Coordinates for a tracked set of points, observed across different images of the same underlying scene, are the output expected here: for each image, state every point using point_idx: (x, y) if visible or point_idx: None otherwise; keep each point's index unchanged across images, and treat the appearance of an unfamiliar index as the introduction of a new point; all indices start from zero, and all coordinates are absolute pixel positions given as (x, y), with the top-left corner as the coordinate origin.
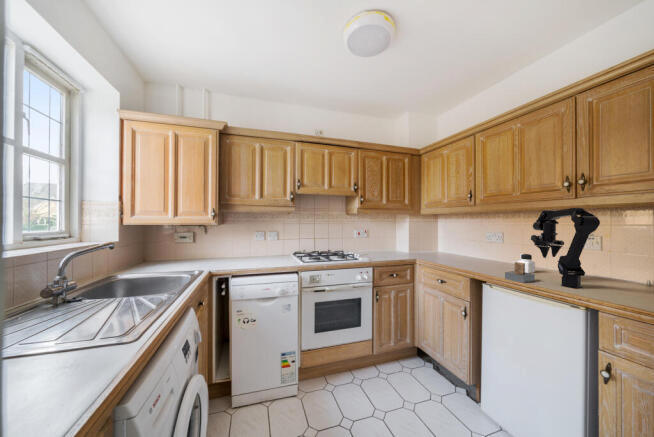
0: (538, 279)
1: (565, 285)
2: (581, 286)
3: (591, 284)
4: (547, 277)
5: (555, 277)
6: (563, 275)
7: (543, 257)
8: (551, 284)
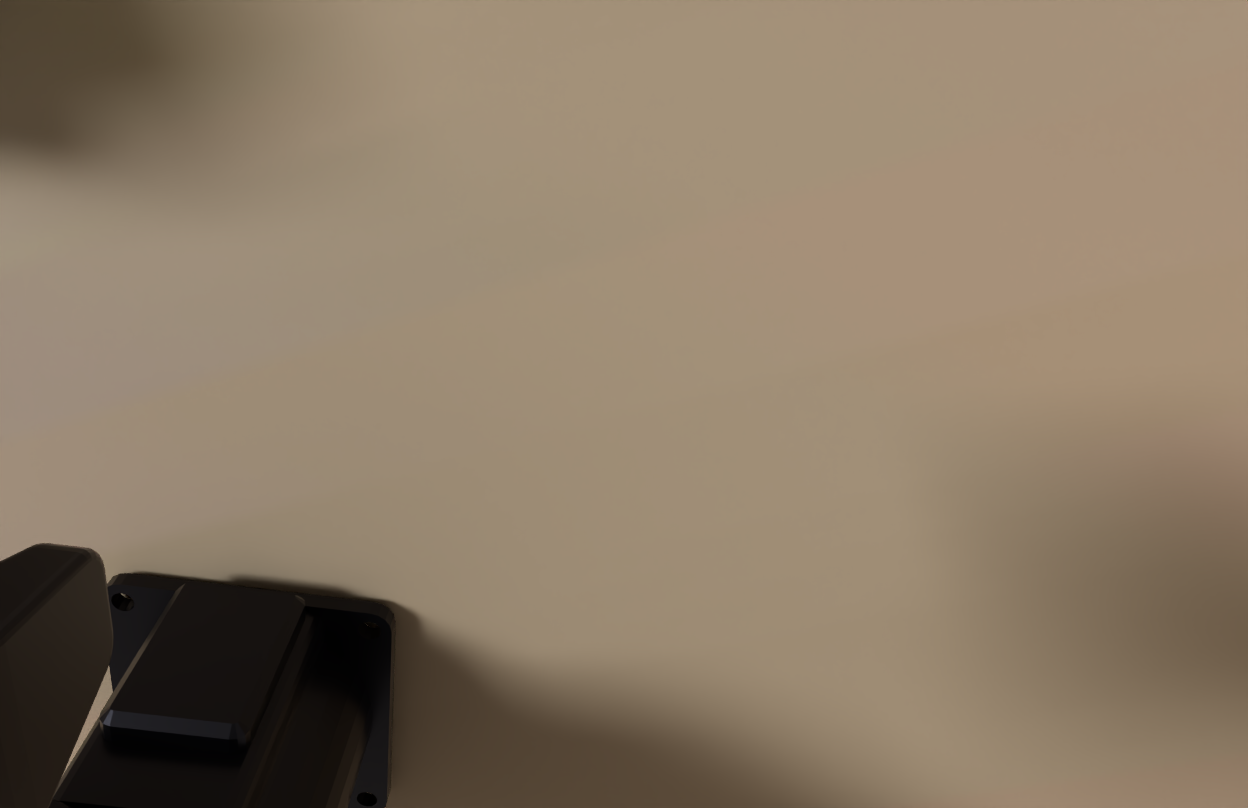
0: (306, 7)
1: (114, 654)
2: (354, 805)
3: (907, 802)
4: (964, 31)
5: (1195, 168)
6: (64, 783)
7: (38, 560)
8: (18, 434)
